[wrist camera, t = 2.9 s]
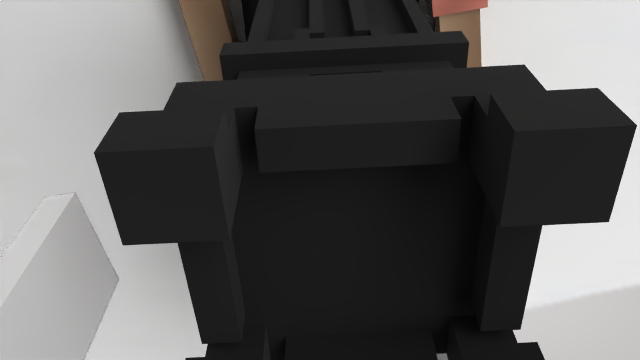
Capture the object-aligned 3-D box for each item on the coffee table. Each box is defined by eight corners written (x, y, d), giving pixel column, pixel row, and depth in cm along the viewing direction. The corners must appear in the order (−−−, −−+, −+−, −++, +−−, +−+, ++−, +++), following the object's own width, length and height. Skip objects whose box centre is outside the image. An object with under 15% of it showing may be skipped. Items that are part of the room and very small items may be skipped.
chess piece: (232, -92, 24) (55, 127, 7) (420, -103, 24) (676, 96, 7) (254, 82, 28) (173, 469, 12) (412, 74, 28) (561, 453, 12)
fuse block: (274, 280, 36) (255, 533, 23) (145, -138, 23) (-53, -78, 10) (485, 249, 35) (585, 497, 22) (471, -209, 22) (690, -238, 9)
